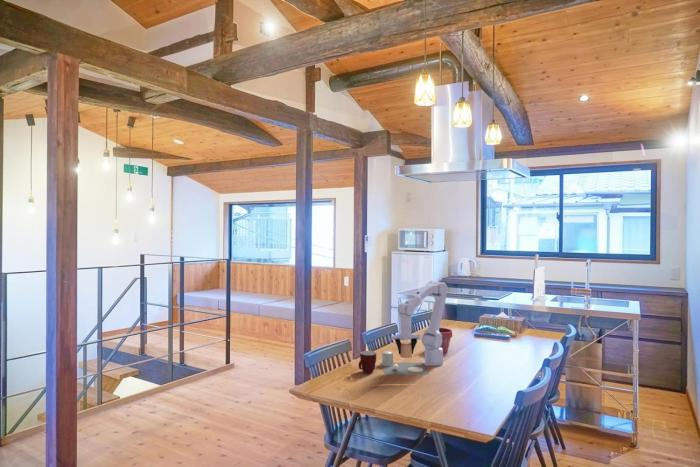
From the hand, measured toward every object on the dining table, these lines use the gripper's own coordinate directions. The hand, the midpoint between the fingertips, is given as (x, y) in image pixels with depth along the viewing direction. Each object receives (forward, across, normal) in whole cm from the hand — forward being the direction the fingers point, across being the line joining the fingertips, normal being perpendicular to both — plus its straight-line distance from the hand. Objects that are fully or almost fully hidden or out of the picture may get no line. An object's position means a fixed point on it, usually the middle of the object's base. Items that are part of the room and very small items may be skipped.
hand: (405, 353), depth 229 cm
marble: (+7, -5, 0) cm, 8 cm away
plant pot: (+9, +27, +36) cm, 46 cm away
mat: (+9, -1, +2) cm, 9 cm away
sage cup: (+8, -8, +9) cm, 15 cm away
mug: (+9, -20, -3) cm, 22 cm away
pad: (+8, +5, 0) cm, 10 cm away
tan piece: (+1, 0, 0) cm, 1 cm away
